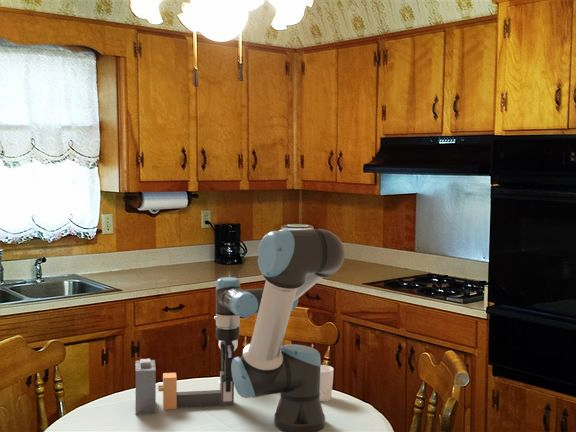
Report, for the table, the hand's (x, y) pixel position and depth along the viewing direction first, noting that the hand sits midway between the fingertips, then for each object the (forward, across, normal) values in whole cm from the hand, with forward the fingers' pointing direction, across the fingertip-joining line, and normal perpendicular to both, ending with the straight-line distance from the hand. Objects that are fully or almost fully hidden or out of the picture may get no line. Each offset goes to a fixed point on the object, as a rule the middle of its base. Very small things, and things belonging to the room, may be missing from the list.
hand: (226, 398), depth 231 cm
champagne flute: (+2, -22, +3) cm, 22 cm away
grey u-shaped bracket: (+2, 0, -26) cm, 26 cm away
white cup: (+2, 0, +31) cm, 31 cm away
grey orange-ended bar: (+2, 0, -10) cm, 10 cm away
